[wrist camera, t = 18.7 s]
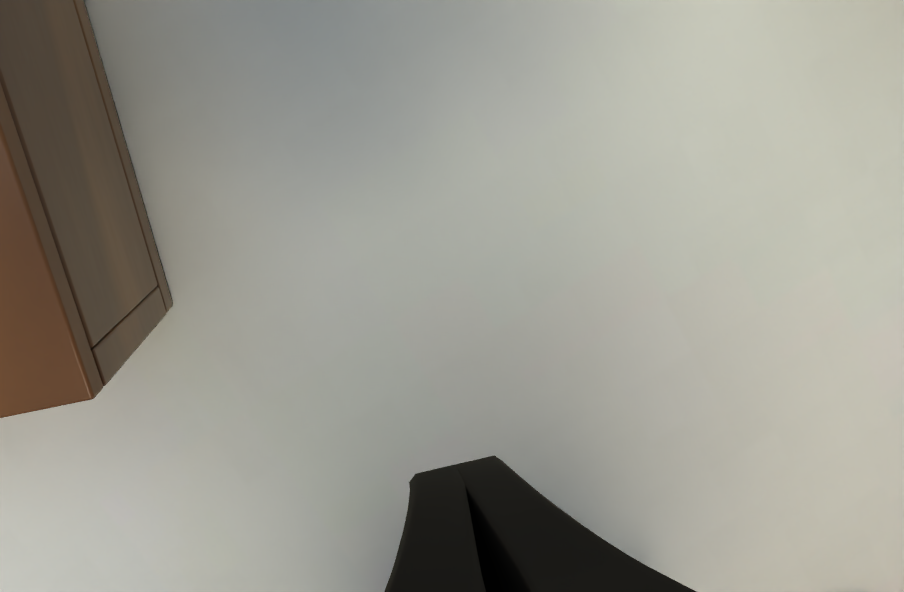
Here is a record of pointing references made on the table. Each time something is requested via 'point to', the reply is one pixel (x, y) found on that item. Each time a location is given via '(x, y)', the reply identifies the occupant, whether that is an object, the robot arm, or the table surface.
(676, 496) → the table surface
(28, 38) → the box
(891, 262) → the table surface
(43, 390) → the lid
